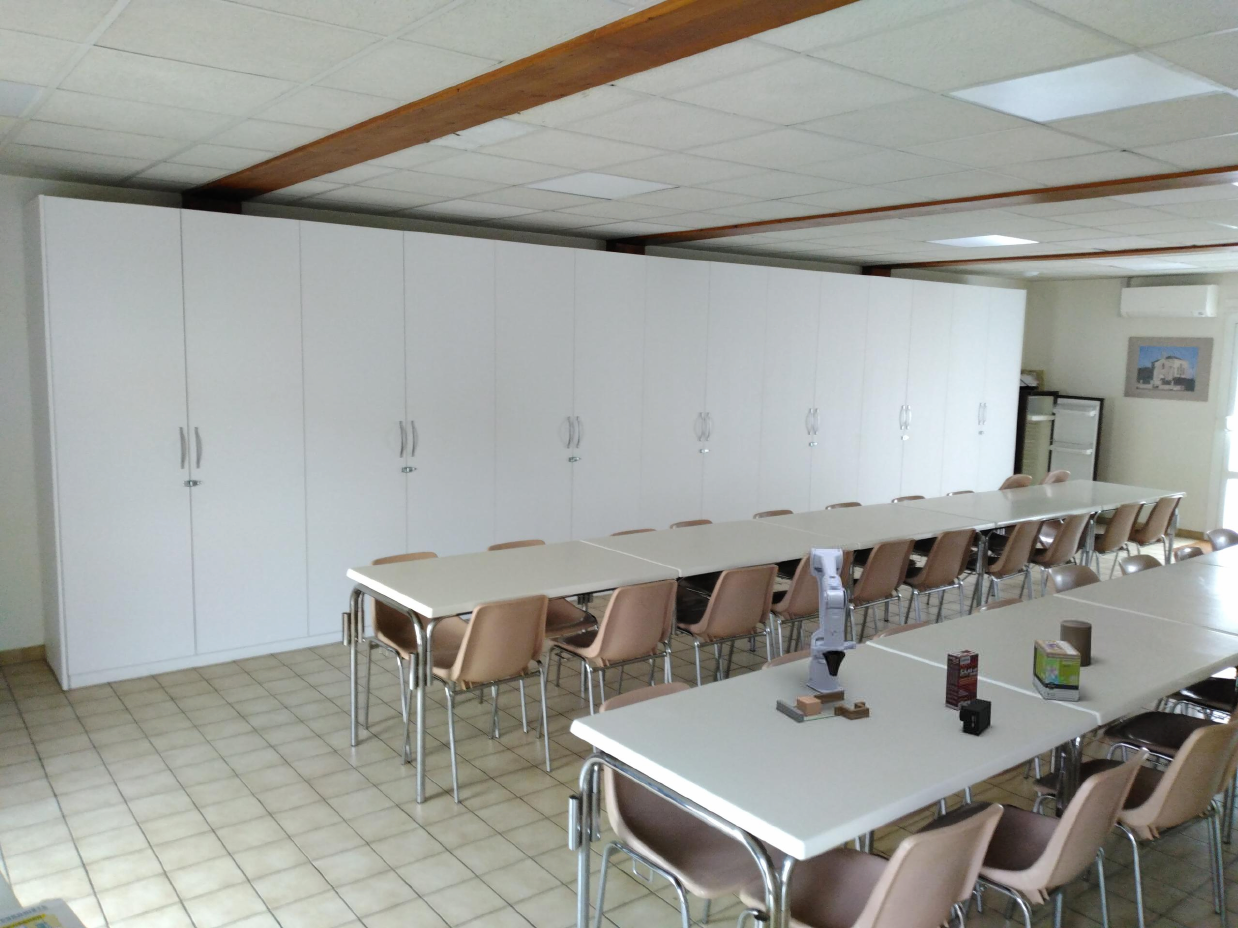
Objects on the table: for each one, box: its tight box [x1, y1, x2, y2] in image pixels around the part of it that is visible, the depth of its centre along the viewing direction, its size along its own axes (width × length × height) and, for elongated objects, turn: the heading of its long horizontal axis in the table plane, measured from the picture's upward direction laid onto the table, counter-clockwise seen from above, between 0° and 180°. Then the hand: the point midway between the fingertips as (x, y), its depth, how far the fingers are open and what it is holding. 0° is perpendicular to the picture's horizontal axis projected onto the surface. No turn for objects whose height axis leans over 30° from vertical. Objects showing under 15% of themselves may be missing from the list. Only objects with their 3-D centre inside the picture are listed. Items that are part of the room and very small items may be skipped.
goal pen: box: [776, 699, 836, 723], centre depth 262 cm, size 12×12×2 cm
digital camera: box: [958, 697, 992, 737], centre depth 250 cm, size 10×5×7 cm, turn 141°
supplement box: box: [944, 649, 979, 711], centre depth 267 cm, size 9×5×16 cm, turn 120°
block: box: [795, 695, 822, 717], centre depth 263 cm, size 5×5×4 cm
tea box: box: [1032, 639, 1081, 702], centre depth 278 cm, size 15×10×15 cm
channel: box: [813, 690, 870, 721], centre depth 265 cm, size 16×10×2 cm, turn 22°
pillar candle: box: [1059, 619, 1093, 667], centre depth 308 cm, size 10×10×15 cm
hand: (833, 675), depth 265 cm, fingers closed
